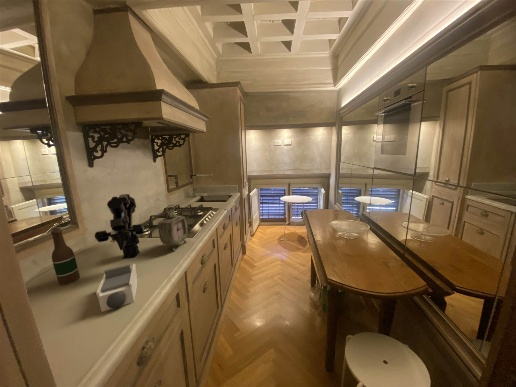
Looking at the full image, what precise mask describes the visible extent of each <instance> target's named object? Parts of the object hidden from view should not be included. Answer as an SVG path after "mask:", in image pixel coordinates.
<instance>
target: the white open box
mask: <svg viewBox="0 0 516 387" xmlns="http://www.w3.org/2000/svg"><path fill="white" fill-rule="evenodd" d="M136 268H137V266H136V263H133V264H132V267H131V271H132V272H131V276H130V281H129V285H126V286H123V287H119V288H116V289H112V290H108V291H105V292H102V287H103V285H104V282H105V280H106V277H105V273H104V274H103V277H102V280H101V282H100V283H99V286H98V288H97V291H96V293H95V294H96V297H97V299H98V302H99V306H100V310H101V312H106V311H110V310H113V309H115V310H116V309H119V308H121V307H122V306H125V305H130V304H133V303H135V300H136V299H135V298H136V294H137V293H136V292H137V285H138V275H137V269H136Z"/></svg>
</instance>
